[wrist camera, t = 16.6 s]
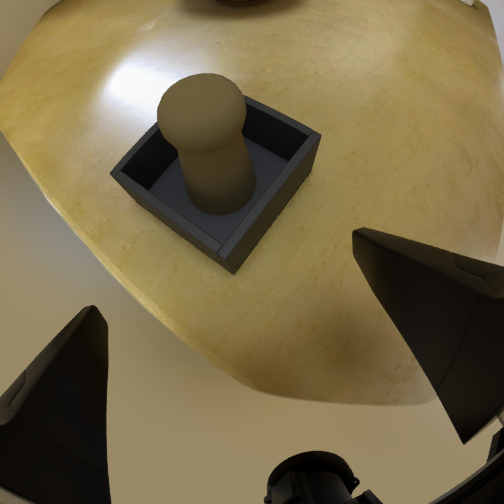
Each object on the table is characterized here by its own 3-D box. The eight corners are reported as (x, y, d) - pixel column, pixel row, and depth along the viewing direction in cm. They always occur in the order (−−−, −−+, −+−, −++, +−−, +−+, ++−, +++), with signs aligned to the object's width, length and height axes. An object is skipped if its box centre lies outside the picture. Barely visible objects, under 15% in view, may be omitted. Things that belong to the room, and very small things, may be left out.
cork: (243, 224, 23) (228, 145, 12) (176, 205, 24) (123, 127, 13) (265, 162, 24) (266, 67, 14) (202, 147, 25) (173, 56, 14)
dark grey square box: (311, 171, 25) (322, 134, 19) (234, 275, 23) (225, 260, 17) (212, 117, 27) (204, 78, 21) (136, 201, 25) (108, 173, 19)
